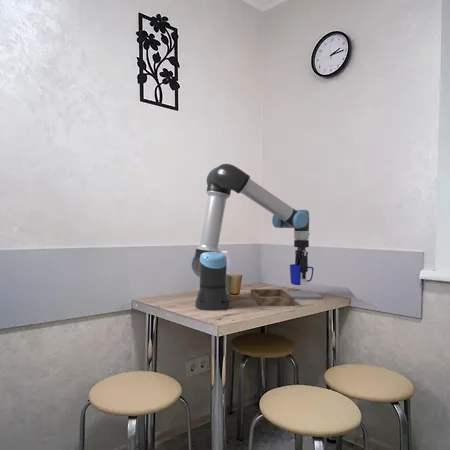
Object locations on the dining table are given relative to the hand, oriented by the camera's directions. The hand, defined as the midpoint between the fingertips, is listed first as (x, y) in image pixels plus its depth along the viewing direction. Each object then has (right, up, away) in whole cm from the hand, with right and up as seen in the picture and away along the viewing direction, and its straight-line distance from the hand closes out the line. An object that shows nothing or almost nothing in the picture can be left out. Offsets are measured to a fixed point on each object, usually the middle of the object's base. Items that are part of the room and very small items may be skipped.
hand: (300, 283), depth 187 cm
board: (0, -6, 0) cm, 6 cm away
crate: (-17, -6, -13) cm, 22 cm away
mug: (0, 0, 0) cm, 1 cm away
